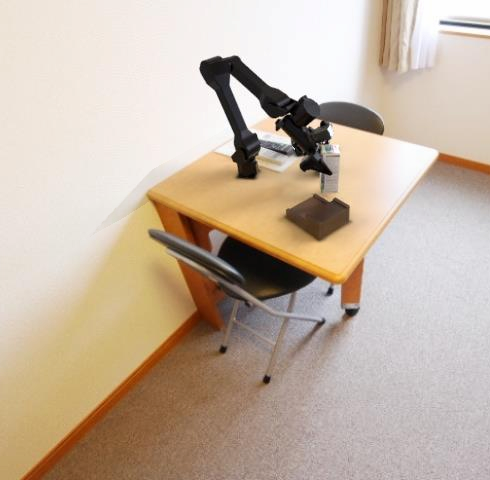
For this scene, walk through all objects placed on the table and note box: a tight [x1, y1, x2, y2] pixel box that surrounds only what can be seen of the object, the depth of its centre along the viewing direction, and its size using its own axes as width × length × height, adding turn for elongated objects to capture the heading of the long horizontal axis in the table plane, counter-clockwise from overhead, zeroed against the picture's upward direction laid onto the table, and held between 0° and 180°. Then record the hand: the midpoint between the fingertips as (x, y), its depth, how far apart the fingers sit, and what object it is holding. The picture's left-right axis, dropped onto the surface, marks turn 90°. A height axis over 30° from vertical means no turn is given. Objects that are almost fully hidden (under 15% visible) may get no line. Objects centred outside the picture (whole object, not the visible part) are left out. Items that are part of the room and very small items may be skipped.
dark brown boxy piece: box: [285, 192, 351, 241], centre depth 106 cm, size 15×12×6 cm
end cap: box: [290, 138, 304, 157], centre depth 139 cm, size 10×7×7 cm
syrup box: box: [319, 144, 342, 195], centre depth 111 cm, size 6×6×14 cm
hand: (333, 169), depth 110 cm, fingers closed on syrup box, 7 cm apart
